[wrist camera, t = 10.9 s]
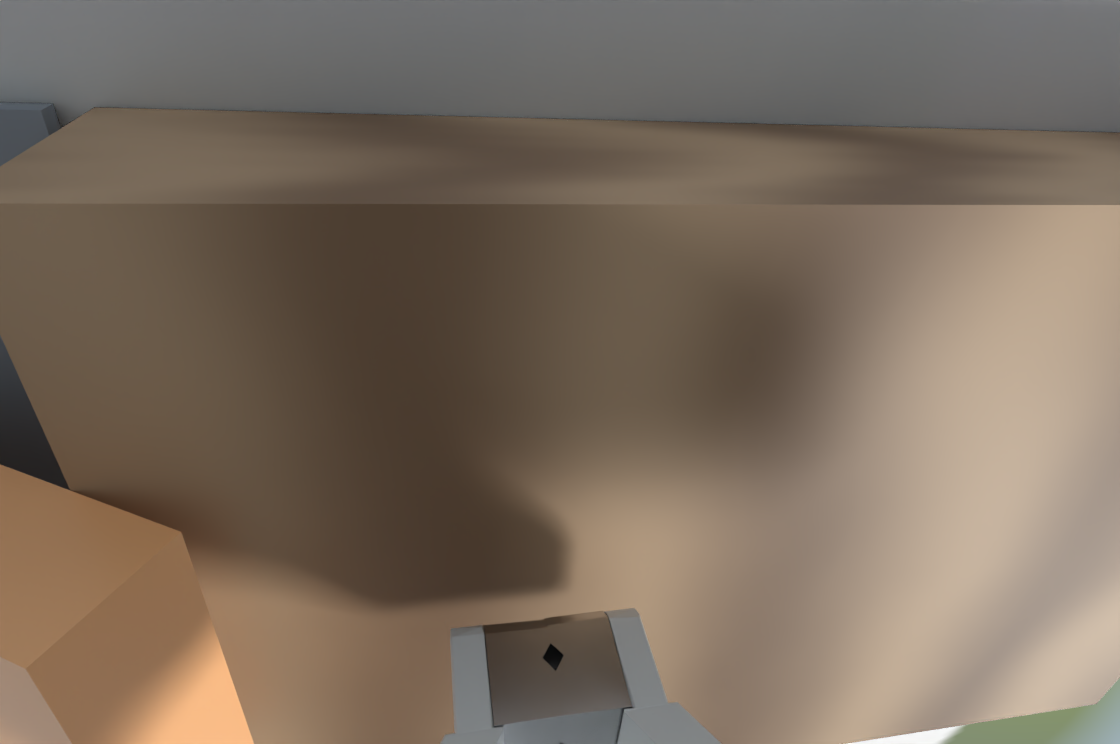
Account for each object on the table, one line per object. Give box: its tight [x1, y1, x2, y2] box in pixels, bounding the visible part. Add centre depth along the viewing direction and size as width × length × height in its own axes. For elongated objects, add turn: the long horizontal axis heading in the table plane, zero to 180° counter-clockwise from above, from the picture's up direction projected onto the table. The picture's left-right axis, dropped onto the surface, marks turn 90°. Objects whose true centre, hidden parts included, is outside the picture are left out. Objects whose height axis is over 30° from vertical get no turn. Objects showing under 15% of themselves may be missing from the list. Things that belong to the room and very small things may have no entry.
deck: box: [0, 107, 1120, 744], centre depth 14 cm, size 22×14×4 cm, turn 85°
